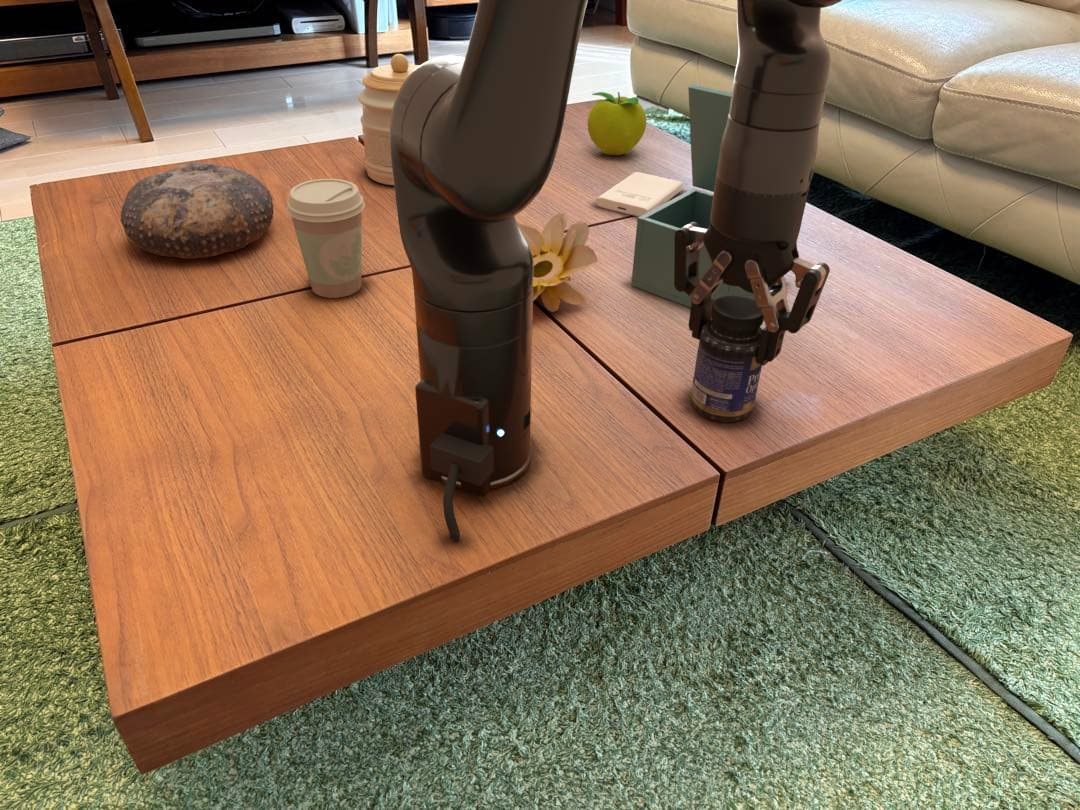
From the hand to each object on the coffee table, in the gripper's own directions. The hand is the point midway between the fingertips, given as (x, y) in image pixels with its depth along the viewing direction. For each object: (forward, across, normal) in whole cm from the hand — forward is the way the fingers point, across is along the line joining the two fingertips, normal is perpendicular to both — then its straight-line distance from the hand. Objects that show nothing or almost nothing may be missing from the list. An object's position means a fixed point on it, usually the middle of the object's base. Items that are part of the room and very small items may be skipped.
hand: (731, 347), depth 78 cm
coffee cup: (+7, -47, -9) cm, 49 cm away
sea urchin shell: (+7, -71, -11) cm, 73 cm away
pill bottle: (+7, 0, 0) cm, 7 cm away
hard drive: (+7, -36, +39) cm, 53 cm away
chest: (+7, -14, +21) cm, 26 cm away
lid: (-9, -14, +25) cm, 30 cm away
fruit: (+7, -50, +53) cm, 73 cm away
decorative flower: (+7, -29, +6) cm, 30 cm away
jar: (+7, -69, +23) cm, 73 cm away
